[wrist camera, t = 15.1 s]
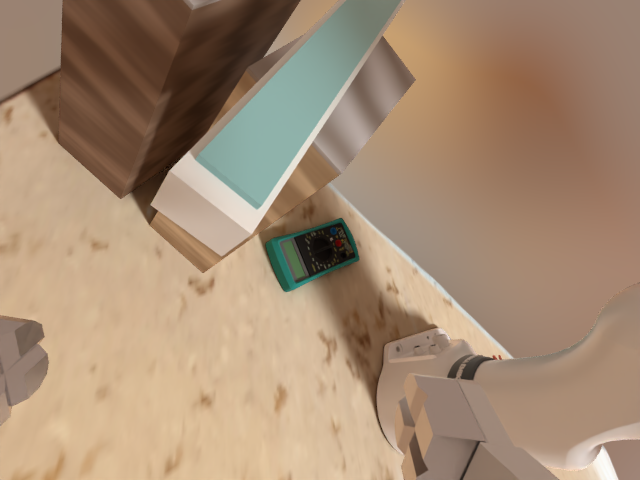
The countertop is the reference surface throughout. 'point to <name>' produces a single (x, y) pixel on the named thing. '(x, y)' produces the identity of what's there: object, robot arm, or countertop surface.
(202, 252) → the oak post
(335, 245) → the digital multimeter
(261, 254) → the countertop surface
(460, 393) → the robot arm
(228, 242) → the bar
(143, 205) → the countertop surface
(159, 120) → the walnut post
